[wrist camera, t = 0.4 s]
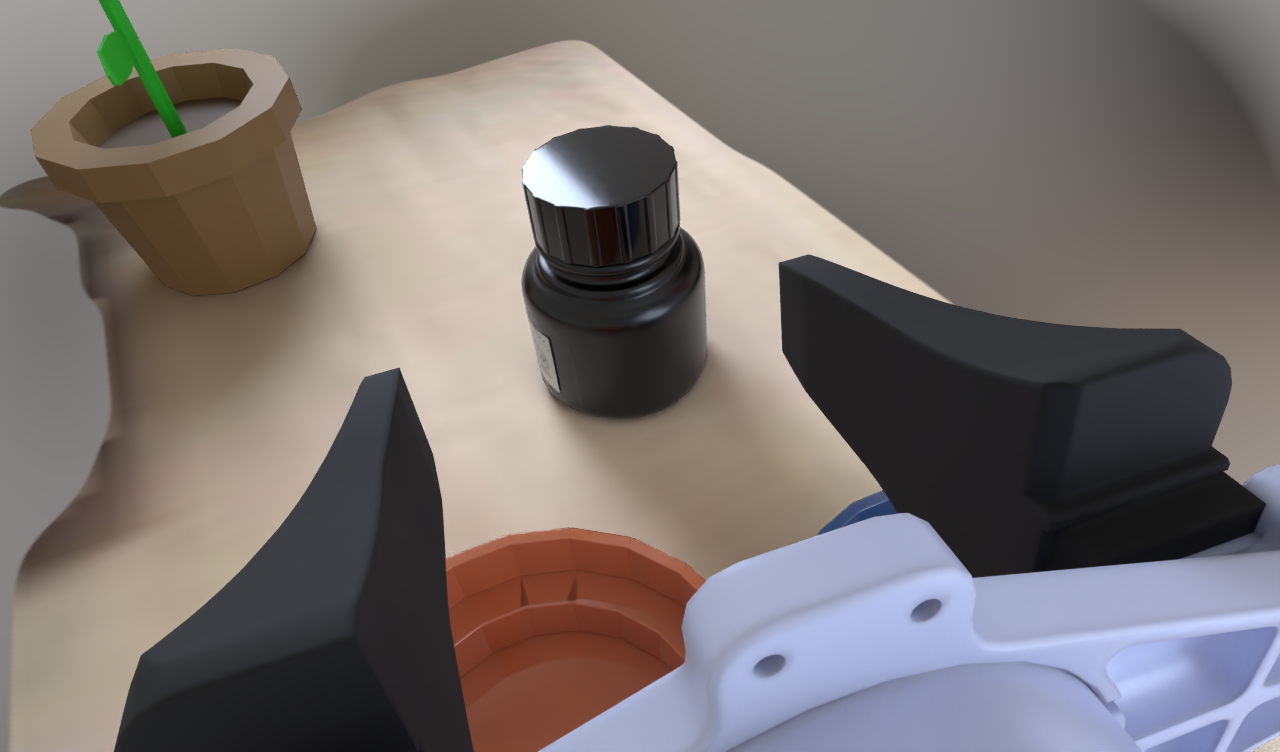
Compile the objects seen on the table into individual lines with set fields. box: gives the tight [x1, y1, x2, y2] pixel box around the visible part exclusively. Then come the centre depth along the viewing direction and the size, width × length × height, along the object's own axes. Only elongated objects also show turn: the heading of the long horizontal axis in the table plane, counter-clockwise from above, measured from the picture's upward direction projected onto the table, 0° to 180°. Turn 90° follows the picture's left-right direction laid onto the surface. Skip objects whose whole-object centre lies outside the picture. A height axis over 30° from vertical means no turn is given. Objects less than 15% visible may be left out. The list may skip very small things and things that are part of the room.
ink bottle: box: [522, 125, 707, 418], centre depth 40 cm, size 10×9×12 cm
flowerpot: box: [31, 0, 316, 296], centre depth 44 cm, size 14×14×30 cm
